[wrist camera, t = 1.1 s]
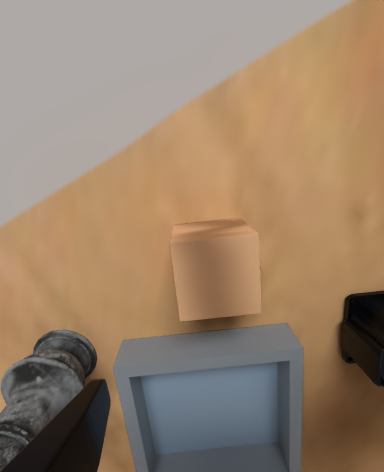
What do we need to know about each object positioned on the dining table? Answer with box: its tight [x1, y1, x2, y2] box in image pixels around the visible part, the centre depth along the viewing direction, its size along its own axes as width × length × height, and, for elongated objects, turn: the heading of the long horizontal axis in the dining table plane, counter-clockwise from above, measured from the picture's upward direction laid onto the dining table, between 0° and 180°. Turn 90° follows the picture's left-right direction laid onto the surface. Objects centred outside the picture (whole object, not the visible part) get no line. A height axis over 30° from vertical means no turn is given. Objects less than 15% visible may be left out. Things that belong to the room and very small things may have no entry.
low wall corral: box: [113, 323, 303, 472], centre depth 22 cm, size 14×14×3 cm
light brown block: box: [170, 218, 261, 322], centre depth 17 cm, size 5×5×5 cm
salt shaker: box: [0, 330, 97, 471], centre depth 16 cm, size 6×6×12 cm
